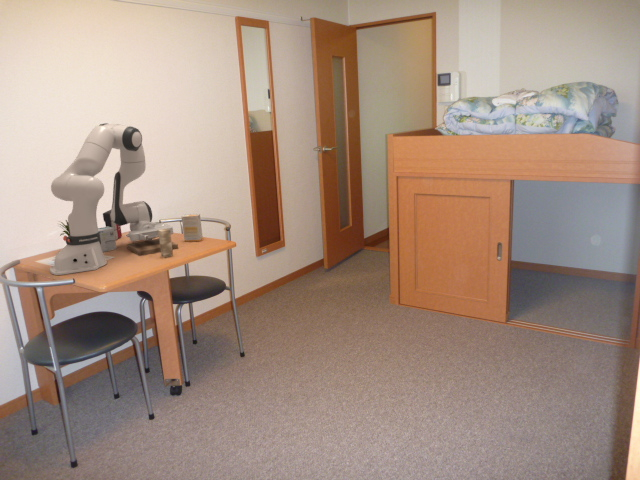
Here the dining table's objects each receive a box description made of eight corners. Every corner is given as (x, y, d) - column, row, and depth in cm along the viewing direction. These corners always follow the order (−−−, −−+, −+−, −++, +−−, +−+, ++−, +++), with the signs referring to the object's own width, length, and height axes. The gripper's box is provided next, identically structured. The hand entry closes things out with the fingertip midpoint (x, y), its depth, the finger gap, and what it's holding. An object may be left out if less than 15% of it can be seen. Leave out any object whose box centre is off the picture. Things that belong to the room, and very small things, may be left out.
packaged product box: (115, 241, 277) (110, 213, 274) (106, 242, 277) (102, 213, 274) (122, 236, 288) (119, 209, 284) (114, 237, 288) (110, 209, 285)
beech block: (164, 257, 240) (161, 231, 238) (161, 256, 244) (158, 230, 241) (173, 256, 243) (170, 229, 240) (169, 254, 246) (166, 228, 243)
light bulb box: (111, 247, 266) (108, 225, 263) (117, 249, 261) (114, 227, 258) (89, 252, 259) (86, 229, 256) (95, 254, 254) (92, 231, 251)
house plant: (49, 254, 257) (43, 221, 253) (68, 247, 270) (63, 215, 266) (75, 255, 254) (70, 220, 250) (93, 247, 267) (88, 215, 263)
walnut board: (140, 255, 246) (139, 251, 246) (127, 248, 262) (126, 244, 262) (178, 248, 256) (177, 244, 256) (163, 241, 272) (162, 237, 272)
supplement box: (203, 239, 273) (200, 213, 270) (200, 241, 268) (197, 215, 265) (187, 239, 274) (184, 214, 271) (184, 241, 269) (181, 216, 266)
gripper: (124, 228, 256) (132, 233, 245) (166, 221, 267) (176, 225, 256) (125, 241, 257) (134, 246, 246) (167, 233, 269) (177, 238, 258)
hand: (156, 235), depth 251 cm, fingers open, 8 cm apart
